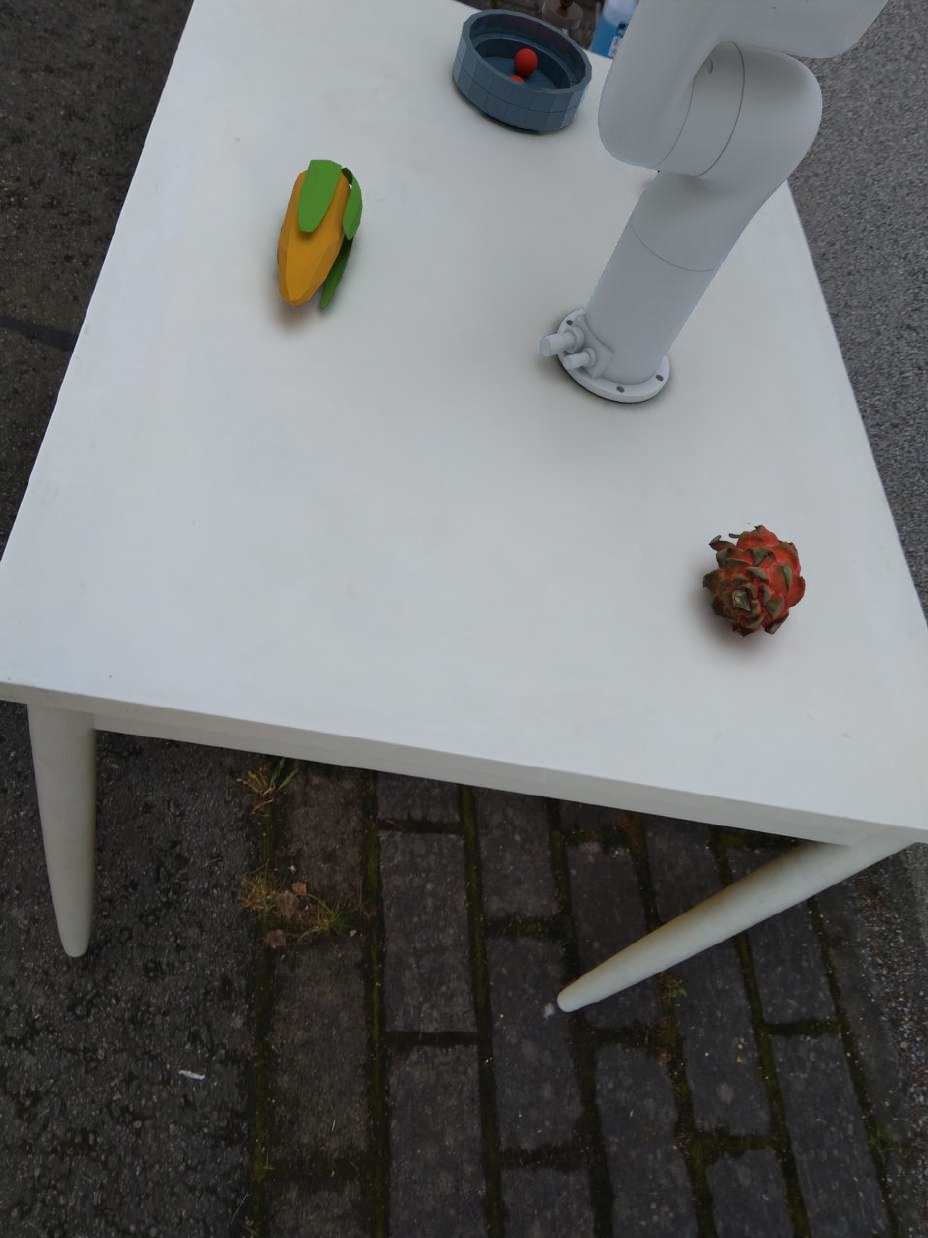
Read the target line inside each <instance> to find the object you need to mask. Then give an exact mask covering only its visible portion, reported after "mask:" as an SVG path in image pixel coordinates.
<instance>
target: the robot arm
mask: <svg viewBox="0 0 928 1238" xmlns="http://www.w3.org/2000/svg"><path fill="white" fill-rule="evenodd" d="M888 2H889V0H639V1H638V3H637V6H636V7H635V10H634V12H633V13H632V14H633V15H632V17H631V19H630V21H629V23H628V25H627V28H626V30H625V32H624V34H623V36H622V38H621V41H620V43H619V46H618V48H617V51H616V52H615V55H614V57H613V59H612V62H611V64H610V67H609V69H608V72H607V75H606V78H605V81H604V85H603V88H602V91H601V95H600V100H599V105H598V114H597V127H598V128H597V129H598V135H599V138H600V141H601V144H602V145H603V148H604V149H605V150H606V151H607V153H608V154H609V155H610V156H612V157H613V158H614V159H616V160H617V161H619V162H622V163H624V164H627V165H630V166H634V167H640V168H643V169H648V170H654V171H658V170H659V171H660V172H659V173H658V172H657V173H656V175H655V176H654V177H653V178H652V180H651V181H649V182H648V184H647V185H646V187H645V188H644V190H643V191H642V193H641V194H640V196H639V197H638V200H637V202H636V204H635V206H634V208H633V210H632V211H631V213H630V215H629V218H628V219H627V222H626V224H625V226H624V228H623V230H622V232H621V234H620V236H619V238H618V240H617V243H616V244H615V246H614V248H613V251H612V252H611V254H610V257H609V259H608V260H607V263H606V265H605V267H604V269H603V271H602V273H601V275H600V277H599V279H598V281H597V283H596V284H595V287H594V289H593V291H592V293H591V295H590V297H589V299H588V301H587V304H586V305H585V307H584V308H581V309H577V310H575V311H573V312H571V313H569V314H568V315H567V316H566V317H565V318H563V320H562V321H561V323H560V325H559V327H558V329H557V332H556V333H555V334H550V335H546V336H542V337H541V338H540V339H539V343H538V348H539V353H540V354H541V355H542V356H543V357H551V356H556V355H557V358H558V359H559V361H560V363H561V365H562V367H563V368H564V369H565V371H566V372H567V373H568V374H569V375H570V377H571V378H572V379H573V380H574V381H576V382H577V383H578V384H579V385H581V386H582V387H584V388H585V390H588V391H589V392H591V393H593V394H595V395H596V396H599V397H602V398H604V399H607V400H610V401H615V402H620V403H630V404H631V403H640V402H644V401H648V400H650V399H651V398H653V397H655V396H657V395H658V394H659V393H660V392H661V391H662V389H663V388H664V386H665V385H666V383H667V381H668V379H669V376H670V370H671V369H670V368H671V366H670V360H669V357H668V354H667V353H668V351H669V350H670V349H671V347H672V345H673V344H674V342H675V341H676V339H677V337H678V336H679V334H680V333H681V331H682V329H683V328H684V326H685V325H686V323H687V321H688V320H689V318H690V317H691V315H692V313H693V312H694V310H695V309H696V307H697V306H698V304H699V302H700V301H701V299H702V297H703V295H704V294H705V293H706V291H707V290H708V288H709V286H710V284H711V283H712V281H713V280H714V278H715V277H716V275H717V273H718V271H720V269H721V267H722V265H723V264H724V263H725V261H726V259H727V258H728V256H729V254H730V253H731V251H732V250H733V248H734V246H735V245H736V243H738V241H739V240H740V237H741V236H742V234H743V233H744V231H745V230H746V229H747V227H748V225H749V224H750V223H751V221H752V220H753V219H754V218H755V215H756V214H757V213H758V212H759V210H760V209H761V208H762V207H763V206H764V204H765V203H767V201H768V200H769V199H770V198H771V197H772V195H773V194H774V193H775V192H776V191H777V190H778V189H779V188H780V187H781V186H782V185H783V184H784V183H785V182H786V181H787V180H788V178H789V177H790V176H791V175H792V174H793V172H795V170H796V169H797V168H798V166H799V165H800V164H801V163H802V161H803V159H804V158H805V156H806V155H807V154H808V152H809V150H810V149H811V147H812V145H813V143H814V141H815V138H816V136H817V135H818V131H819V128H820V124H821V121H822V114H823V94H822V90H821V85H820V84H819V82H818V79H817V78H816V76H815V75H814V73H813V72H812V71H811V69H810V68H809V67H808V66H807V65H805V64H804V63H803V62H802V61H800V60H798V59H796V58H795V57H792V56H797V57H803V58H807V59H808V58H809V59H830V58H835V57H837V56H840V55H842V54H844V53H846V52H847V51H848V50H849V49H851V48H852V47H853V46H854V45H855V44H856V43H857V42H858V41H859V40H860V39H861V38H862V37H863V35H864V34H866V32H867V31H868V29H869V28H870V27H871V25H872V24H873V23H874V22H875V20H877V18H878V16H879V14H880V13H881V12H882V11H883V9H884V7H885V6H886V5H887V3H888Z"/></svg>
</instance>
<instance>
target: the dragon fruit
mask: <svg viewBox="0 0 928 1238" xmlns="http://www.w3.org/2000/svg"><path fill="white" fill-rule="evenodd" d="M747 524H748V525H750V523H747ZM752 524H753V523H752ZM753 528H755V529H753V530H750V531H749V530H744V531H742V532H741V533H740V534H739V533H732V532H729V533H728V534H727V536H728V538H730V539H737V540H736V543H735V544H734V543H733V542H730V541H729V540H721V539H722V535H721V534H718V535H716V536H715V537H714V538H712V539H711V541H710V542H709V543H708V546H709V547H710V548H711V549H712V550H713V551H716V553H715V560H716V562H717V565H718V568H717V569H714V570H711V571H710V572H709V573H706V574H704V575H703V577H702V581H701V582H702V584H701V585H702V588H703V589H704V588H706V589H707V590H709V591H710V592H711V593H712V594H713V597H712V600H711V605H710V606H711V610H712V612H713V614H714V615H715V616H718V617H721V618H722V619H726V620H728V621H730V623H731V629H732V632H734V633H736V634H737V635H739V636H741V637H743V638H745V637H748V636H749V635H751V634H754V633H756V632H757V631H758V630H759V629H760V628H761V627H762V628H763V631H764V632H765V633H767V634H769V635H771V636H773V635H775V634H776V633H777V631H778V630H779V629H780V628H781V627H782V625H783V624H784V623H785V622H786V620H787V619H788V617H789V616H790V609H791V608H794V607H795V606H797V605H798V604H799V603H800V602H801V601H802V599H803V598H804V597H805V594H806V593H805V592H806V584H807V583H806V579H805V578H804V576H803V575H801V572H802V566H801V562H800V556H799V552H798V548H797V547H796V545H795V543H794V542H792V541H790V542H788V541H783V540H780V539H779V538H778V536H777V534H776V533H775V532H772V531H771V530H769V529H768V528H766V526H764V525H763V524H757V525H753Z"/></svg>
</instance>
